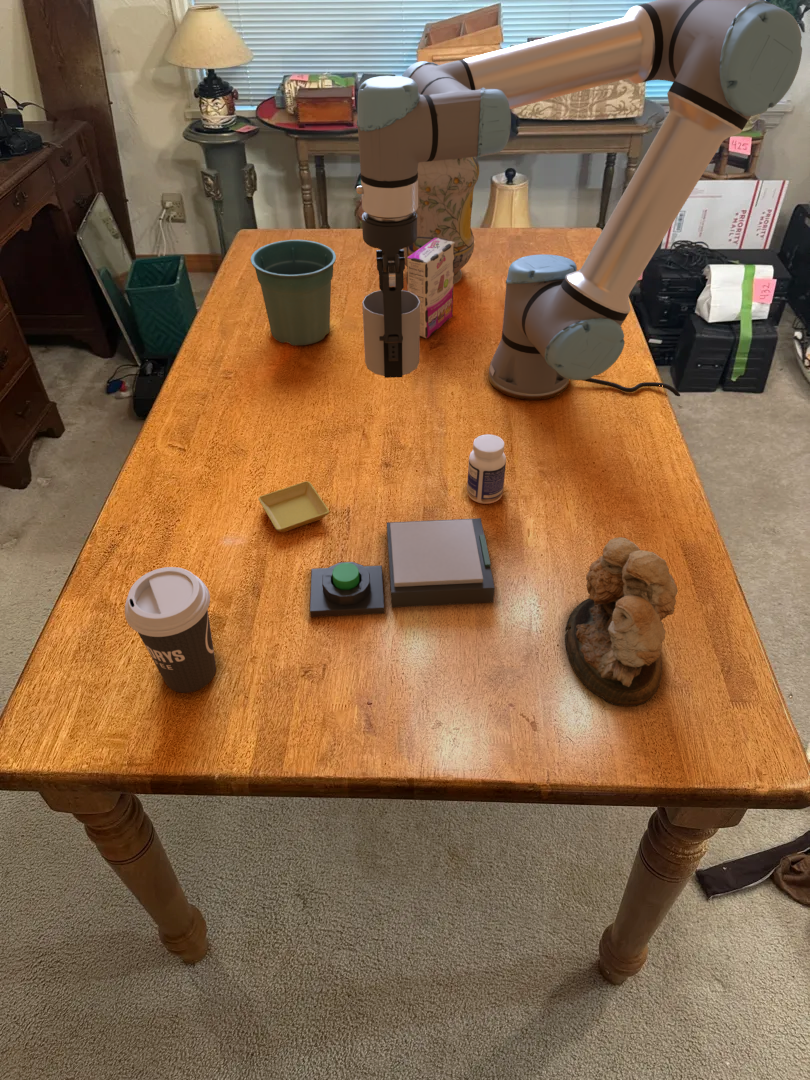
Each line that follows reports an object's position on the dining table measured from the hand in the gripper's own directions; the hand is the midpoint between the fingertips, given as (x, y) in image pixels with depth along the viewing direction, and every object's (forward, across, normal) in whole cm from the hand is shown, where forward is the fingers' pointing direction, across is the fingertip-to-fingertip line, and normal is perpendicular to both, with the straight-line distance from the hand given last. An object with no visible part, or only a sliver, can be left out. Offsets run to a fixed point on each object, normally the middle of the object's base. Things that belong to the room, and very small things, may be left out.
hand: (392, 360), depth 118 cm
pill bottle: (+17, +13, +14) cm, 26 cm away
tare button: (+14, +33, -8) cm, 37 cm away
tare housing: (+17, +33, -8) cm, 38 cm away
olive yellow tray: (+17, +16, -16) cm, 28 cm away
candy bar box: (+17, -42, +9) cm, 47 cm away
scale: (+17, +29, +5) cm, 34 cm away
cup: (+1, 0, 0) cm, 1 cm away
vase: (+17, -65, +12) cm, 69 cm away
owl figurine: (+17, +44, +26) cm, 54 cm away
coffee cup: (+17, +45, -28) cm, 56 cm away
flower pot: (+17, -41, -18) cm, 48 cm away
